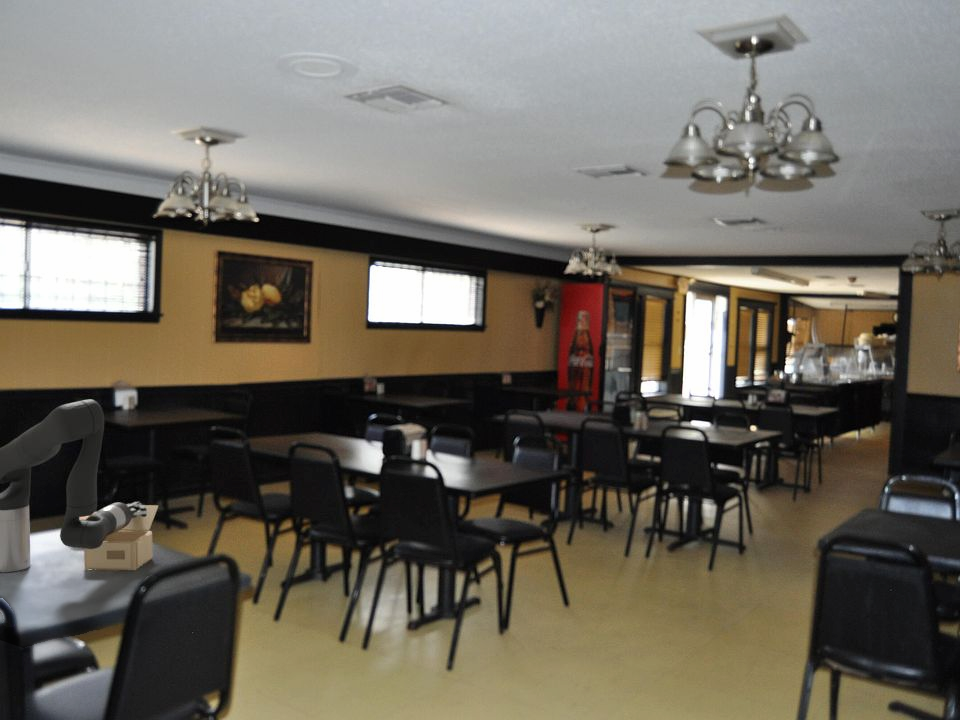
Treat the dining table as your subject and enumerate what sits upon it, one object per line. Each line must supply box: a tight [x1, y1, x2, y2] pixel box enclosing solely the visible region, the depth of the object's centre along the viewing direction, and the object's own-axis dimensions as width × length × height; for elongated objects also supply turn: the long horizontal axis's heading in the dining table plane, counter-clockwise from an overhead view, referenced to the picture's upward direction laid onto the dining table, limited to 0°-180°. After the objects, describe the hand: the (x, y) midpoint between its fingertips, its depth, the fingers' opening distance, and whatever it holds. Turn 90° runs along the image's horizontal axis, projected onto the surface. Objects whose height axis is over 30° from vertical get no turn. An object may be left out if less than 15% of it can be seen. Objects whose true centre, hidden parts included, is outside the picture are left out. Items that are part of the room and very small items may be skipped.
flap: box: [120, 504, 159, 531], centre depth 253 cm, size 12×1×9 cm
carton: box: [83, 530, 153, 571], centre depth 243 cm, size 15×13×8 cm
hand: (137, 505), depth 256 cm, fingers closed
